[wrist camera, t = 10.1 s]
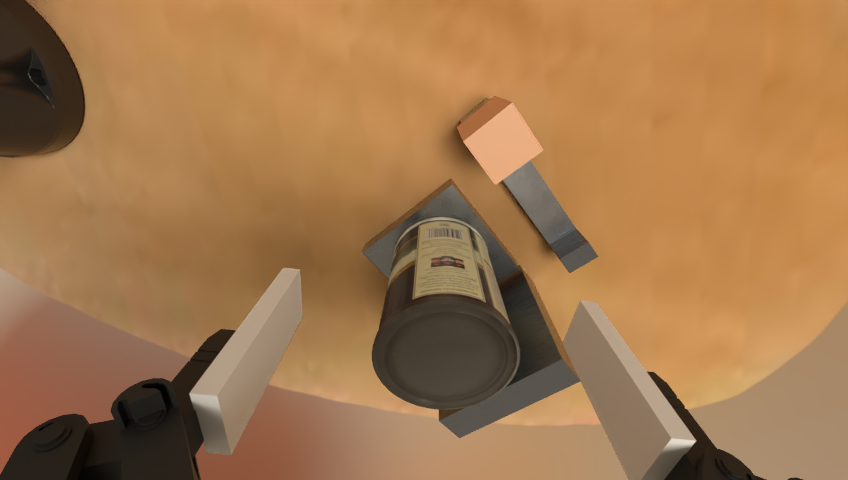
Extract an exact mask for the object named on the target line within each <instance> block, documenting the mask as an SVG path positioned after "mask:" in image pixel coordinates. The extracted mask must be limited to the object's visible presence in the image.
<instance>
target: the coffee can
mask: <svg viewBox="0 0 848 480" xmlns="http://www.w3.org/2000/svg"><path fill="white" fill-rule="evenodd" d="M519 361H520V348H519V343H518V340H517V337H516V334H515V332H514V330H513V328H512V326H511V325H510V322H509V319H508V316H507V312H506V309H505V306H504V303H503V300H502V297H501V293H500V290H499V287H498V284H497V281H496V278H495V275H494V271H493V268H492V265H491V262H490V258H489V255H488V250H487V246H486V243H485V241H484V240H483V238H482V236H481V235H480V234H479V233H478V231H477V230H475V229H474V228H473V227H472V226H470V225H469V224H467V223H465V222H463V221H461V220H459V219H454V218H449V217H433V218H429V219H425V220H422V221H419V222H417V223H416V224H414V225H412V226H411V227H409V228H408V229H407V230H406V231H405V232H404V233H403V234H402V235H401V237H400V238H399V240H398V242H397V244H396V246H395V249H394V254H393V263H392V267H391V273H390V278H389V283H388V287H387V292H386V297H385V302H384V306H383V310H382V315H381V321H380V326H379V330H378V332H377V335H376V337H375V341H374V344H373V350H372V362H373V367H374V370H375V372H376V374H377V376H378V378H379V379H380V381H381V382H382V383H383V385H385V387H386V388H387V389H388V390H389V391H390V392H392V393H393V394H394V395H396V396H397V397H399V398H401V399H403V400H405V401H407V402H409V403H412V404H414V405H417V406H421V407H425V408H431V409H440V410H450V409H460V408H465V407H470V406H473V405H477V404H480V403H482V402H484V401H486V400H488V399H490V398H492V397H494V396H495V395H497V394H498V393H499V392H501V391H502V390H503V389H504V388H505V387H506V386H507V385H508V384H509V383H510V381H511V380H512V379H513V377H514V375H515V373H516V371H517V369H518V366H519Z"/></svg>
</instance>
